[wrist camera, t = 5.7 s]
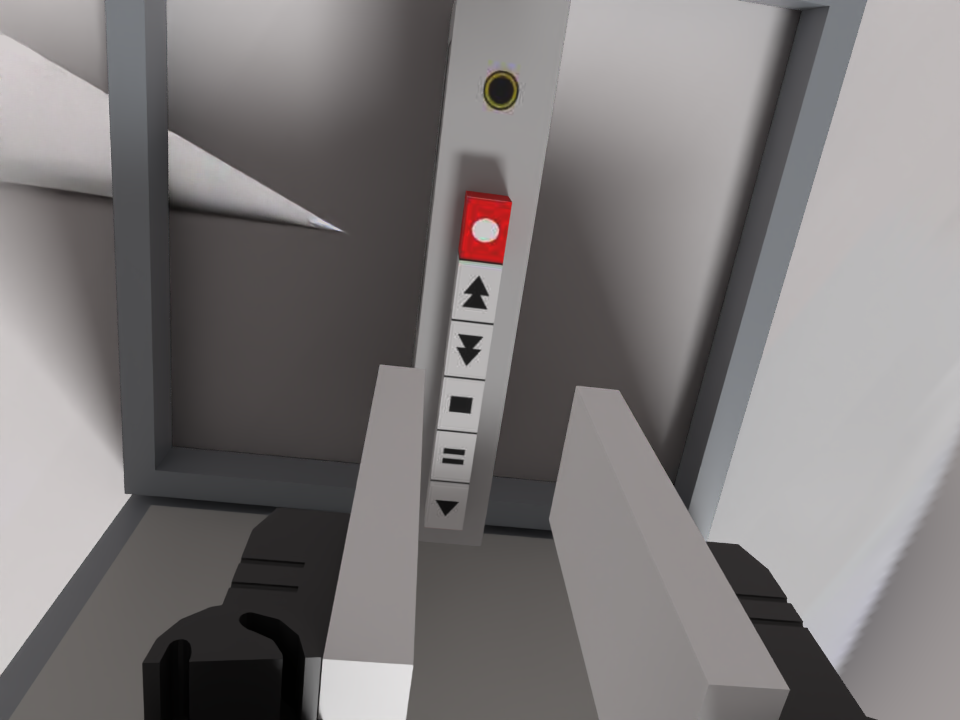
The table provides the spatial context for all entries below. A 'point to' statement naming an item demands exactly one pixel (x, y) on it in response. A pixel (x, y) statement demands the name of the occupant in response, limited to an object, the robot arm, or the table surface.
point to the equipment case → (331, 485)
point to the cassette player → (480, 245)
